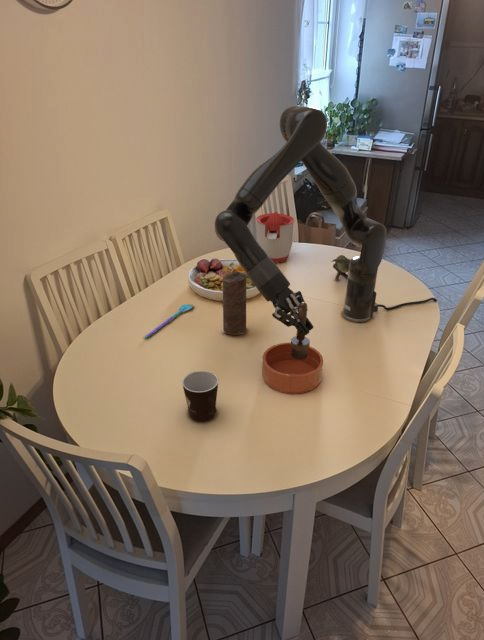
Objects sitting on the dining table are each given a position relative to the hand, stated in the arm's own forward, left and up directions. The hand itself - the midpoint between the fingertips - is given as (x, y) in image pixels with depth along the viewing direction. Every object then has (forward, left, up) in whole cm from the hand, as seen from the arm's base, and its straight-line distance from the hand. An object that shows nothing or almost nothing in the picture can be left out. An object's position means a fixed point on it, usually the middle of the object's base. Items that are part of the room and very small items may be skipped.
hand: (308, 331), depth 127 cm
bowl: (+6, -63, -16) cm, 65 cm away
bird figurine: (-39, -59, -16) cm, 73 cm away
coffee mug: (+30, +8, -16) cm, 35 cm away
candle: (+12, -30, -16) cm, 36 cm away
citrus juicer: (-19, -85, -16) cm, 89 cm away
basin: (+3, -3, -16) cm, 16 cm away
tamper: (+1, -1, -8) cm, 8 cm away
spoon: (+31, -42, -16) cm, 55 cm away
